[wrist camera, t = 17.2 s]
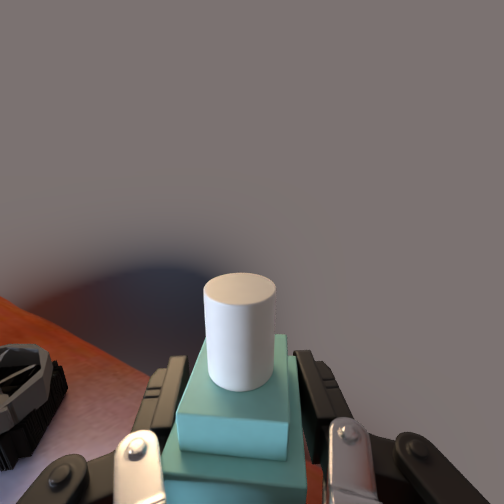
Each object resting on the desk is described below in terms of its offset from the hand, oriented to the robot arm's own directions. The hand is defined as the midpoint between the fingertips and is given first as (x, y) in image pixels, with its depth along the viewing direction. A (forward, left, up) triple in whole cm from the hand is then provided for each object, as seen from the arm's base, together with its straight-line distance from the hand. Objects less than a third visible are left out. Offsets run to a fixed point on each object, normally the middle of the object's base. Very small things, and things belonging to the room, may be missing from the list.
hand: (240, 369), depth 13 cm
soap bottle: (-3, +1, -13) cm, 13 cm away
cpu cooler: (+15, +19, -15) cm, 29 cm away
